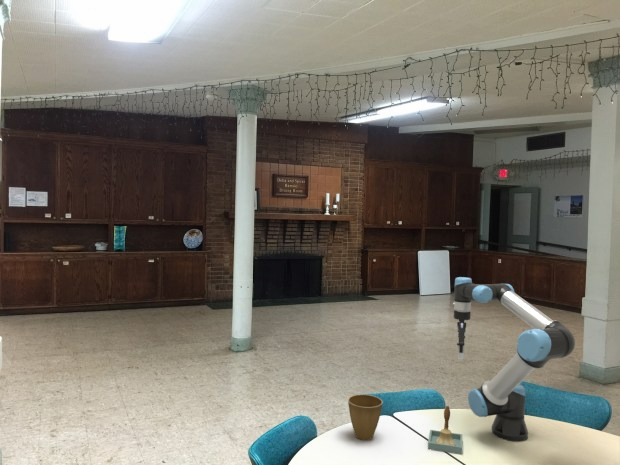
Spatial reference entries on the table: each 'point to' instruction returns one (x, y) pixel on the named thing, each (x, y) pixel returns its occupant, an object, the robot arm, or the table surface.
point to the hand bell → (446, 430)
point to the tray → (444, 447)
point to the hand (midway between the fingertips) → (460, 355)
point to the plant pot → (364, 414)
